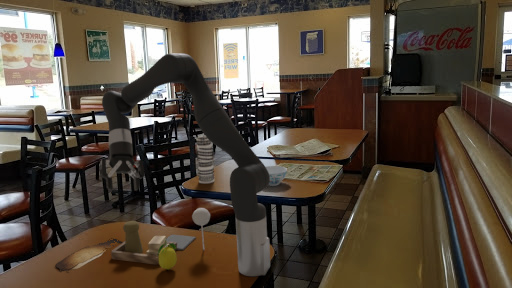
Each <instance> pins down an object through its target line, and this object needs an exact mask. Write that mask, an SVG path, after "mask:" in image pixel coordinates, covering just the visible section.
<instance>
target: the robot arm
mask: <svg viewBox="0 0 512 288" xmlns="http://www.w3.org/2000/svg"><path fill="white" fill-rule="evenodd" d="M166 84H182V85H184V87H185V88H186V90H187V91H188V92H189V94H190V96H191V98H192V101H193V113H194V119H195V122H196V123H197V126H198V127H199V129H200V130H201V132H203V135H205V136H206V137H207V138H208V139H209V140H210V141H211V144H213V145H215V146H216V147H217V148H219V149H221V150H222V151H224V152H225V154H227V155H228V156H230V158H232V159H233V161H234V162H235V164H236V166H237V167H236V168H234V169H233V170H232V171H231V173H230V177H229V190H230V200H231V206H232V209H233V211H234V215H235V229H236V230H235V231H236V232H235V234H236V248H237V250H236V252H237V266H238V272H239V273H240V274H241V275H243V276H246V277H258V276H266V274H267V272H268V271H269V269H270V267H271V253H270V252H271V250H270V249H271V248H270V237H268V229H267V226H268V225H267V208H266V206H265V205H264V204H262V203H259V202H258V193H260V192H263V191H264V190H266V189H267V188H268V187H269V182H270V176H269V173H268V171H267V169H266V167H267V166H265V164H264V162H262V160H261V159H260V158H259V157H258V156H257V154H256V153H255V152H254V150H253V149H252V148H251V147H250V146H249V144H247V142H246V140H245V139H244V138H243V136H242V134H241V133H240V131H238V129H237V127H236V126H235V124H234V123H233V121H232V119H231V118H230V117H229V115H228V113H227V112H226V110H225V108H223V106H222V105H221V103H220V102H219V100H218V98H217V96H216V95H215V93H214V92H213V90H212V89H211V88H210V86H209V84H208V83H207V81H206V79H205V77H204V75H203V73H202V71H201V70H200V67H199V66H198V63H197V62H196V60H195V59H194V58H193V57H192V56H191V55H189V54H187V53H181V52H179V53H176V52H175V53H173V52H171V53H166V54H164V55H162V56H161V57H160V58H159V59H158V60H157V61H156V62H155V63H154V64H153V65H152V66H151V67H149V69H148V70H146V71H145V72H144V73H143V74H142V75H141V76H139V77H137V78H136V79H135V80H132V81H131V82H129V83H128V84H127V85H125V86H124V87H122V88H121V91H120V92H118V91H115V90H108V91H106V92H105V93H104V94H103V96H102V97H101V99H102V100H101V106H102V109H103V112H104V114H105V117H106V121H107V122H108V148H109V150H108V151H109V159H106V158H104V157H103V158H102V159H101V160H100V161H99V177H100V178H101V179H105V183H106V189H107V190H108V191H112V190H113V175H114V174H115V173H116V174H124V175H125V174H128V175H129V176H130V177H131V178H132V179H133V190H134V191H138V190H139V189H140V188H141V187H140V186H141V184H140V183H141V182H140V181H141V180H140V179H143V178H144V177H145V176H146V174H145V167H144V162H143V161H144V160H143V159H140V160H136V161H135V160H134V152H133V150H134V149H133V138H132V134H131V133H132V132H131V123H130V119H129V117H128V116H127V114H129V113H131V111H133V109H134V108H135V107H136V106H137V104H139V103H141V102H142V101H144V100H146V99H148V98H149V97H150V96H151V95H152V94H153V92H154V90H155V89H156V88H158V87H160V86H163V85H166ZM108 165H109V166H110V167H111V169H110V171H109V173H107V171H106V170H107V166H108ZM134 166H135V167H136V168H137V170H136V169H135V167H134Z"/></svg>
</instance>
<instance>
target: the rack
mask: <svg viewBox="0 0 512 288" xmlns="http://www.w3.org/2000/svg"><path fill="white" fill-rule="evenodd" d="M122 242H123V243H120V244H119V245H118V246H116V247H115V248H113V249H112V250H111V251H110V253H111V254H110V255H111V259H112V260H119V261H126V262H133V263H141V264H148V265H149V264H150V265H157V266H158V265H159V255H158V256H156V255H147V253H146V254H145V253H141V254H139V253H130V252H125V241H122ZM166 243H167V244H171V243H173V244H175V246H176V249H173V250H174V251H175V252H176V251H178V250H177V242H170V241H166Z"/></svg>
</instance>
